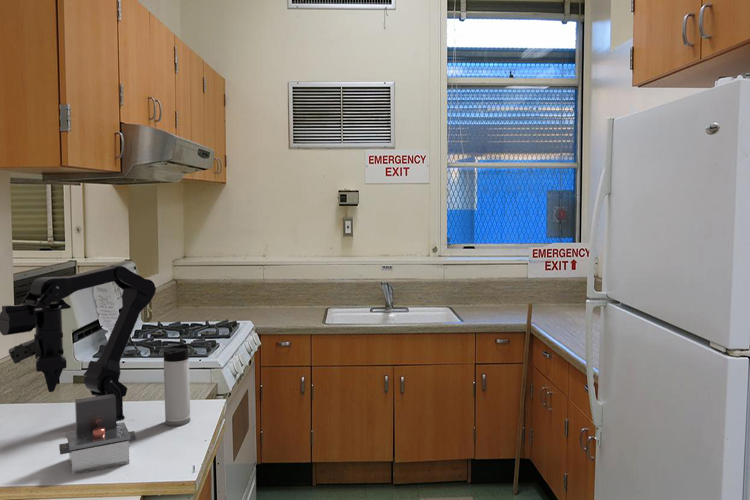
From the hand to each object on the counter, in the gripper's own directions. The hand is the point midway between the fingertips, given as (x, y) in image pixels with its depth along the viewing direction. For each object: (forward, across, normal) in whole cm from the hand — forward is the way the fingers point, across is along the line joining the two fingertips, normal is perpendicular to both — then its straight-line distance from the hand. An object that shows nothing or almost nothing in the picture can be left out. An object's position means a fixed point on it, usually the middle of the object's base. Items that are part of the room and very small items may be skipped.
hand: (51, 391), depth 143 cm
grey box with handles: (+11, +23, +8) cm, 27 cm away
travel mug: (+11, +6, +29) cm, 31 cm away
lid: (+6, +23, +8) cm, 25 cm away
